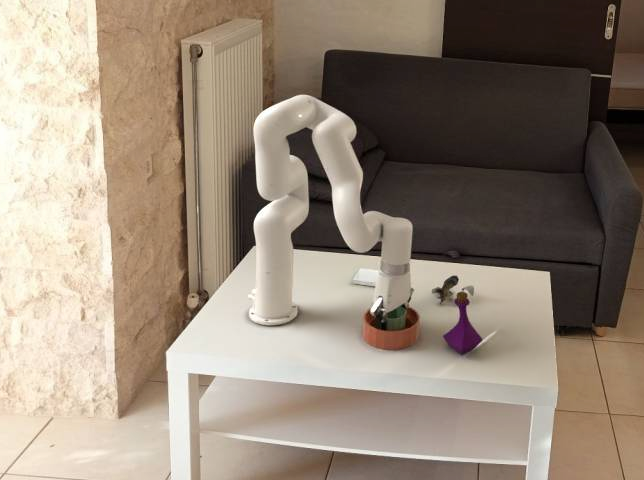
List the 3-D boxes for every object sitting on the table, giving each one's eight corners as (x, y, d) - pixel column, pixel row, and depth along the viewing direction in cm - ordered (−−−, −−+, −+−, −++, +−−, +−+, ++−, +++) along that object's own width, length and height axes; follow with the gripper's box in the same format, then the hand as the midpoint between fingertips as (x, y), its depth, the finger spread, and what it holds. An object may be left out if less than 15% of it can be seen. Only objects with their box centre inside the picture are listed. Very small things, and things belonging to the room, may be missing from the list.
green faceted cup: (369, 334, 191) (371, 312, 189) (388, 323, 197) (390, 301, 196) (392, 345, 187) (393, 322, 186) (410, 333, 193) (412, 311, 192)
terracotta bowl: (350, 337, 189) (351, 318, 188) (387, 315, 202) (388, 297, 201) (394, 358, 182) (395, 338, 181) (429, 334, 195) (430, 315, 193)
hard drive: (352, 279, 217) (393, 284, 216) (361, 267, 225) (400, 272, 224) (352, 284, 218) (393, 289, 217) (360, 272, 226) (399, 277, 224)
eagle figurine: (460, 303, 210) (464, 284, 218) (447, 285, 208) (452, 266, 216) (437, 312, 212) (442, 293, 220) (425, 294, 210) (430, 275, 218)
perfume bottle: (441, 347, 189) (446, 284, 185) (462, 338, 194) (468, 276, 190) (460, 360, 184) (466, 295, 180) (482, 351, 189) (488, 287, 185)
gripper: (405, 250, 197) (400, 310, 201) (361, 272, 182) (357, 336, 186) (427, 259, 193) (422, 319, 197) (384, 282, 179) (380, 346, 182)
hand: (390, 327), depth 191 cm, fingers closed on green faceted cup, 7 cm apart
